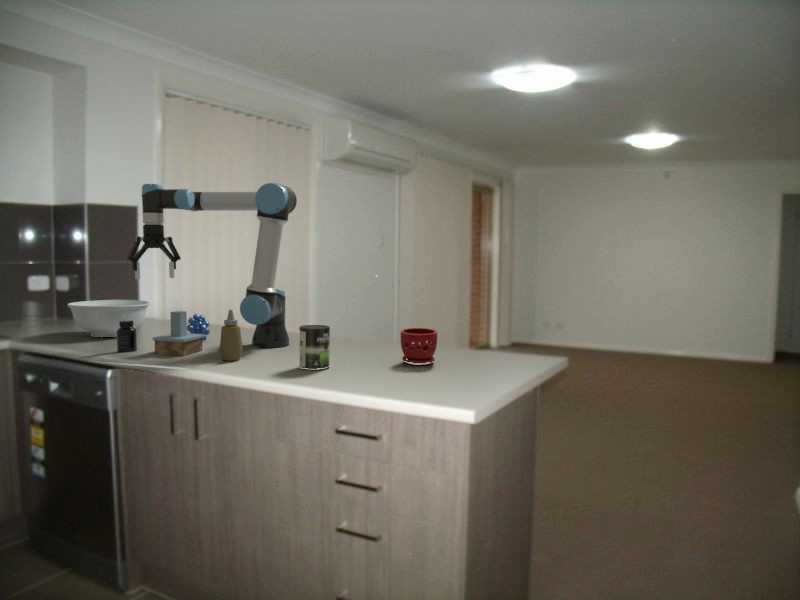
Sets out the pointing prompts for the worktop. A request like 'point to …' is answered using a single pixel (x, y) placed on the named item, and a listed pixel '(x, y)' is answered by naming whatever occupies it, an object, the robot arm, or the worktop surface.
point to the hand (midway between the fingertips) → (155, 278)
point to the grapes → (198, 326)
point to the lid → (178, 329)
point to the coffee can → (314, 346)
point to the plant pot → (416, 350)
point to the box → (178, 347)
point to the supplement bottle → (126, 337)
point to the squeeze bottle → (230, 339)
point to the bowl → (107, 315)
